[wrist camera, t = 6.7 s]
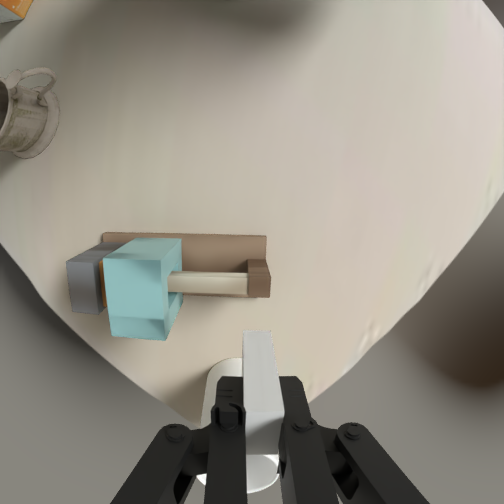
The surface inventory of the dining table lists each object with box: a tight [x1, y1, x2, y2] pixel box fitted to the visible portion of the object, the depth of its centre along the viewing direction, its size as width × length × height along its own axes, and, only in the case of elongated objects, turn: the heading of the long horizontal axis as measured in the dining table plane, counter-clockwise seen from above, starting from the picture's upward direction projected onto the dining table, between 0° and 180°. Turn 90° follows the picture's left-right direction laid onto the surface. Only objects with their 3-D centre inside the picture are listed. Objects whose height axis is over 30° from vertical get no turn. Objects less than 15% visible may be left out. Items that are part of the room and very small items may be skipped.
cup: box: [197, 358, 279, 493], centre depth 32 cm, size 8×8×16 cm
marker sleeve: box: [103, 238, 183, 341], centre depth 29 cm, size 7×5×9 cm
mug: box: [0, 67, 60, 159], centre depth 25 cm, size 14×10×12 cm
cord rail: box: [66, 232, 271, 315], centre depth 31 cm, size 7×19×10 cm, turn 88°
